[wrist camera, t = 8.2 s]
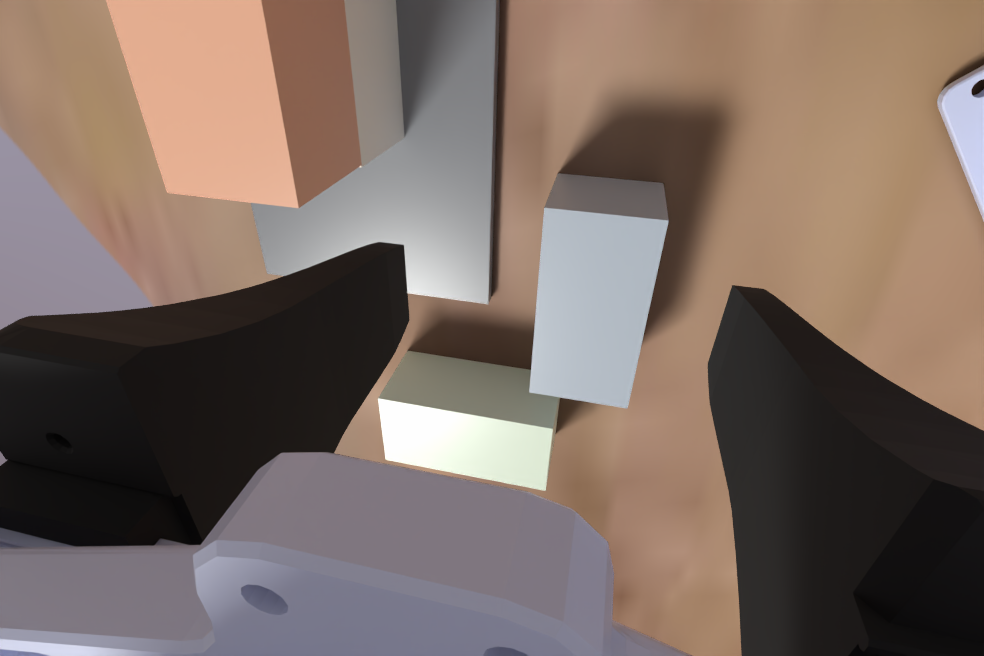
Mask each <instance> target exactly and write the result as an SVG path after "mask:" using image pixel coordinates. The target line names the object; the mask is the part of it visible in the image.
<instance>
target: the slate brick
mask: <svg viewBox="0 0 984 656" xmlns="http://www.w3.org/2000/svg"><path fill="white" fill-rule="evenodd" d="M668 222H669V219H668V212H667V204H666V197H665V190H664V183H658V182H647V181H636V180H625V179H615V178H604V177H593V176H582V175H571V174H561V173H558V174H557V177H556V180H555V182H554V185H553V187H552V190H551V192H550V195H549V197H548V200H547V202H546V205H545V207H544V219H543V231H542V243H541V255H540V267H539V280H538V292H537V304H536V316H535V328H534V340H533V352H532V364H531V376H530V389H529V392H530V393H536V394H542V395H548V396H554V397H560V398H567V399H573V400H579V401H585V402H591V403H597V404H603V405H609V406H616V407H622V408H628V404H629V399H630V394H631V390H632V385H633V381H634V376H635V372H636V367H637V363H638V358H639V354H640V349H641V344H642V340H643V335H644V331H645V326H646V322H647V317H648V313H649V308H650V304H651V299H652V294H653V290H654V285H655V281H656V276H657V272H658V267H659V263H660V258H661V254H662V249H663V244H664V240H665V235H666V231H667V226H668Z"/></svg>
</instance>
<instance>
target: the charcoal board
mask: <svg viewBox="0 0 984 656" xmlns="http://www.w3.org/2000/svg"><path fill="white" fill-rule="evenodd" d="M396 11H397V27H398V43H399V58H400V74H401V90H402V106H403V122H404V138H403V139H402V140H400V141H399V142H398V143H396V144H395V145H393V146H392V147H390V148H389V149H387V150H386V151H385V152H383V153H382V154H380V155H379V156H377V157H376V158H374V159H373V160H372V161H370V162H369V163H367V164H366V165H364V166H363V167H358V168H357V169H355V170H354V171H352V172H351V173H349V174H348V175H347V176H345V177H344V178H342V179H341V180H339V181H338V182H336V183H335V184H333V185H332V186H331V187H329V188H328V189H326V190H325V191H323V192H322V193H320V194H319V195H317V196H316V197H314V198H313V199H312V200H310V201H309V202H307V203H306V204H304V205H303V206H301V207H300V208H292V207H284V206H275V205H267V204H258V203H251V206H252V210H253V215H254V219H255V223H256V227H257V232H258V236H259V240H260V245H261V249H262V253H263V257H264V262H265V266H266V270H267V274H274V275H281V276H286V275H289V274H292V273H294V272H297V271H300V270H303V269H306V268H309V267H311V266H314V265H316V264H319V263H321V262H324V261H326V260H329V259H331V258H334V257H336V256H339V255H341V254H344V253H347V252H349V251H352V250H354V249H357V248H360V247H363V246H366V245H369V244H372V243H376V242H385V243H393V244H401V245H404V251H405V265H406V279H407V293H411V294H418V295H426V296H433V297H440V298H447V299H454V300H462V301H469V302H476V303H483V304H489V301H490V299H491V287H492V253H493V218H494V184H495V149H496V115H497V80H498V46H499V11H500V0H396Z"/></svg>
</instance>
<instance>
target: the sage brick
mask: <svg viewBox="0 0 984 656" xmlns="http://www.w3.org/2000/svg"><path fill="white" fill-rule="evenodd" d="M530 376H531V370H528V369H522V368H515V367H509V366H503V365H496V364H490V363H484V362H477V361H471V360H464V359H458V358H452V357H445V356H439V355H432V354H426V353H420V352H413V351H407V352H406V354H405V355H404V357H403V359H402V360H401V362H400V364H399V365H398V367H397V368H396V370H395V372H394V373H393V375H392V377H391V378H390V380H389V382H388V383H387V385H386V386H385V388H384V390H383V391H382V393H381V395H380V396H379V398H378V402H379V410H380V418H381V426H382V434H383V442H384V450H385V458H386V460H390V461H395V462H401V463H406V464H411V465H416V466H421V467H426V468H431V469H436V470H442V471H447V472H452V473H457V474H462V475H467V476H472V477H478V478H483V479H488V480H493V481H498V482H503V483H508V484H513V485H519V486H524V487H529V488H534V489H539V490H544V491H546V485H547V480H548V474H549V468H550V463H551V457H552V451H553V446H554V440H555V434H556V426H557V418H558V410H559V402H560V397H554V396H548V395H542V394H536V393H530V392H529V389H530Z"/></svg>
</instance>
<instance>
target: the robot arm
mask: <svg viewBox="0 0 984 656" xmlns="http://www.w3.org/2000/svg"><path fill="white" fill-rule="evenodd" d="M982 79H984V65H983V66H981V67H979V68H977V69H975V70H974V71H972V72H970V73H968V74H966V75H965V76H963V77H961V78H959V79H957V80H955V81H954V82H952V83H950V84H949V85H948V86H946V87H945V88H944V89H943V90H942V92H941V93H940V94H939V97H938V100H937V103H938V108H939V111H940V113H941V116H942V118H943V121H944V123H945V126H946V128H947V131H948V133H949V136H950V138H951V141H952V143H953V146H954V148H955V151H956V153H957V156H958V158H959V161H960V163H961V166H962V168H963V171H964V173H965V176H966V178H967V181H968V183H969V186H970V188H971V191H972V193H973V196H974V198H975V201H976V203H977V206H978V208H979V211H980V213H981V216H982V218H983V221H984V89H983V90H982V91H981V92H980V93H979V94H976V95H972V93H971V89H972V88H973V86H974V84H976V83H977V82H978V81H979V80H982ZM408 322H409V308H408V293H407V279H406V265H405V251H404V245H401V244H393V243H385V242H376V243H372V244H369V245H366V246H363V247H360V248H357V249H354V250H352V251H349V252H347V253H344V254H341V255H339V256H336V257H334V258H331V259H329V260H326V261H324V262H321V263H319V264H316V265H314V266H311V267H309V268H306V269H303V270H300V271H297V272H294V273H292V274H289V275H286V276H283V277H280V278H278V279H275V280H272V281H269V282H266V283H263V284H259V285H256V286H252V287H249V288H245V289H241V290H237V291H233V292H230V293H226V294H221V295H217V296H212V297H207V298H201V299H196V300H191V301H186V302H181V303H175V304H169V305H163V306H155V307H148V308H141V309H131V310H122V311H112V312H100V313H83V314H66V315H45V316H28V317H25V318H22V319H19V320H18V321H16V322H14V323H12V324H10V325H8V326H7V327H5V328H3V329H1V330H0V451H1V453H2V454H3V456H4V457H5V459H7V461H6V462H5V463H4V464H2V465H1V466H0V656H692V655H690V654H687V653H685V652H683V651H681V650H678V649H676V648H674V647H672V646H669V645H667V644H665V643H663V642H660V641H658V640H656V639H654V638H652V637H649V636H647V635H645V634H643V633H640V632H638V631H636V630H634V629H631V628H629V627H627V626H625V625H622V624H620V623H618V622H616V621H614V620H612V611H613V584H614V572H613V566H612V561H611V556H610V550H609V545H608V542H607V541H606V540H605V539H604V538H603V537H602V536H601V535H600V534H599V533H598V532H597V531H596V530H594V529H593V528H592V527H591V526H590V525H589V524H588V523H587V522H586V521H585V520H584V519H583V518H582V517H581V516H580V515H579V514H578V513H577V512H575V511H574V510H573V509H571V508H569V507H566V506H564V505H561V504H558V503H556V502H553V501H551V500H548V499H545V498H543V497H540V496H538V495H535V494H532V493H530V492H527V491H522V490H517V489H512V488H507V487H502V486H496V485H491V484H486V483H481V482H476V481H471V480H466V479H461V478H456V477H451V476H446V475H441V474H436V473H430V472H425V471H420V470H415V469H410V468H405V467H400V466H395V465H390V464H385V463H380V462H375V461H370V460H364V459H359V458H354V457H349V456H344V455H339V454H334V452H335V450H336V448H337V446H338V444H339V442H340V440H341V438H342V436H343V434H344V432H345V430H346V429H347V427H348V425H349V424H350V422H351V420H352V419H353V417H354V416H355V414H356V412H357V411H358V409H359V408H360V406H361V405H362V403H363V402H364V400H365V399H366V397H367V396H368V394H369V393H370V391H371V389H372V388H373V386H374V385H375V383H376V382H377V380H378V379H379V377H380V376H381V374H382V373H383V371H384V369H385V368H386V366H387V365H388V363H389V362H390V360H391V358H392V357H393V355H394V353H395V352H396V349H397V347H398V345H399V343H400V341H401V339H402V336H403V334H404V332H405V329H406V327H407V324H408ZM708 383H709V399H710V406H711V411H712V416H713V421H714V426H715V430H716V435H717V440H718V444H719V449H720V453H721V458H722V462H723V467H724V472H725V476H726V481H727V485H728V490H729V496H730V502H731V508H732V518H733V528H734V539H735V550H736V563H737V577H738V591H739V608H740V629H741V650H742V656H984V431H983V430H981V429H979V428H977V427H975V426H973V425H971V424H968V423H966V422H964V421H962V420H960V419H958V418H956V417H954V416H952V415H950V414H948V413H946V412H944V411H942V410H940V409H938V408H937V407H935V406H933V405H931V404H929V403H927V402H925V401H923V400H922V399H920V398H918V397H916V396H915V395H913V394H911V393H910V392H908V391H906V390H905V389H903V388H901V387H899V386H898V385H896V384H894V383H893V382H891V381H889V380H887V379H886V378H884V377H883V376H881V375H880V374H878V373H876V372H875V371H873V370H872V369H870V368H869V367H867V366H866V365H865V364H863V363H862V362H860V361H859V360H857V359H856V358H854V357H853V356H852V355H850V354H849V353H847V352H846V351H844V350H843V349H842V348H840V347H839V346H838V345H836V344H835V343H834V342H832V341H831V340H830V339H828V338H827V337H826V336H824V335H823V334H822V333H821V332H819V331H818V330H817V329H815V328H814V327H813V326H812V325H810V324H809V323H808V322H807V321H805V320H804V319H803V318H802V317H800V316H799V315H798V314H797V313H795V312H794V311H793V310H792V309H791V308H789V307H788V306H787V305H786V304H784V303H783V302H782V301H780V300H779V299H778V298H776V297H775V296H774V295H772V294H771V293H769V292H768V291H766V290H764V289H759V288H751V287H743V286H735V285H732V288H731V291H730V295H729V298H728V301H727V304H726V307H725V311H724V314H723V317H722V320H721V323H720V326H719V330H718V333H717V336H716V339H715V342H714V346H713V349H712V352H711V355H710V358H709V362H708Z"/></svg>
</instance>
